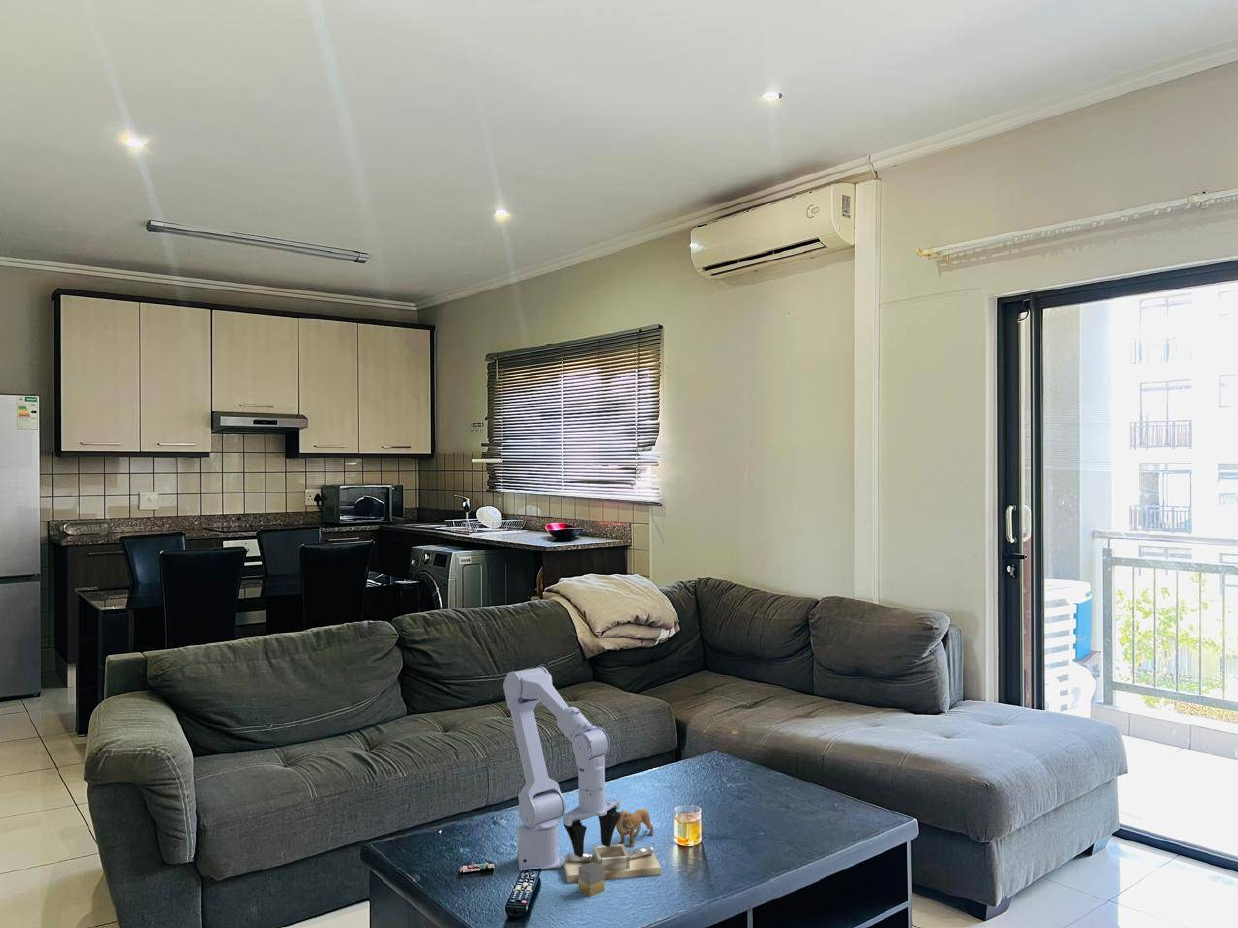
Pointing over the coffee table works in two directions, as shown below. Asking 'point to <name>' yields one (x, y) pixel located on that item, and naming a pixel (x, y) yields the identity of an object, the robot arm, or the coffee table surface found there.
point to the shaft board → (615, 863)
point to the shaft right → (641, 852)
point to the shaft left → (578, 858)
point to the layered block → (591, 879)
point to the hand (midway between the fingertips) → (592, 850)
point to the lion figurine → (633, 824)
